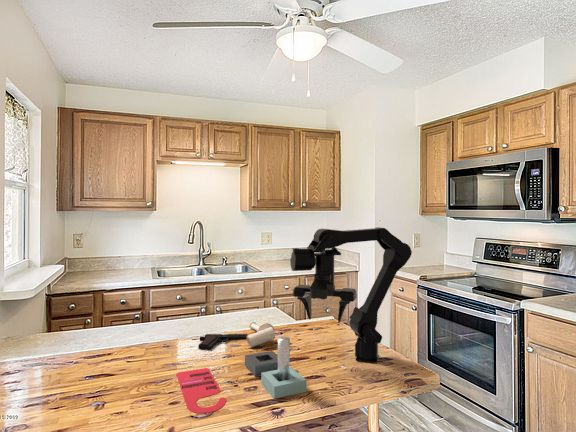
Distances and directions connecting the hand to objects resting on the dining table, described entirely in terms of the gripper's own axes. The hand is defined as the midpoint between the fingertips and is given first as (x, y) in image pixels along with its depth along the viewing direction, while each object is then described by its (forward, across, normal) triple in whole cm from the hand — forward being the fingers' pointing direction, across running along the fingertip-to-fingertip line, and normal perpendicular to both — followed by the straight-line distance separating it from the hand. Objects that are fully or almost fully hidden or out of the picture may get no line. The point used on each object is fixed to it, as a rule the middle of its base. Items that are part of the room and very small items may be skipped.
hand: (324, 320), depth 118 cm
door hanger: (+14, -26, -28) cm, 41 cm away
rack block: (+13, -6, -20) cm, 24 cm away
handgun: (+14, -37, +4) cm, 40 cm away
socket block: (+13, -16, -10) cm, 23 cm away
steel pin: (+13, -6, -20) cm, 24 cm away
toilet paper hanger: (+14, -30, +14) cm, 36 cm away
